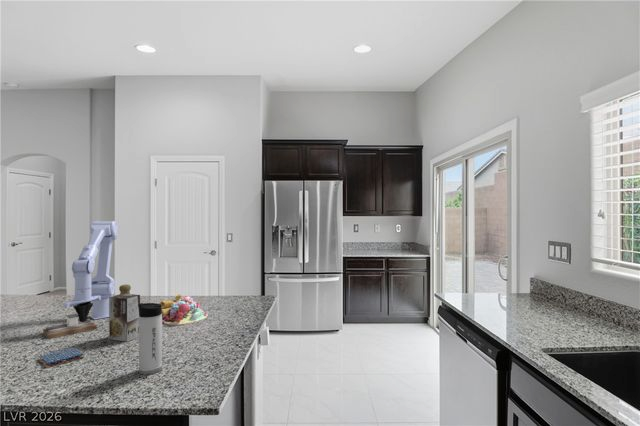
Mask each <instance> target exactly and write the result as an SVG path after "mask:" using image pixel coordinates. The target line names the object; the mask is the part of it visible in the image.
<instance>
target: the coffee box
mask: <svg viewBox="0 0 640 426" xmlns="http://www.w3.org/2000/svg"><path fill="white" fill-rule="evenodd" d="M140 303H141V295H140V294H135V293H134V294H133V293H130V294H120V293H119V294H115V295H112V297H109V317H108V318H109V321H108V322H109V323H108V324H109V327H108V329H109V330H108V331H109V333H108V334H109V335H108V336H109V338H108V339H109V340H114V341H119V342H130V341H132V340H133V341H134V340H135V339H139V307H138V305H139V304H140Z"/></svg>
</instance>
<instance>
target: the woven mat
mask: <svg viewBox="0 0 640 426" xmlns="http://www.w3.org/2000/svg"><path fill="white" fill-rule="evenodd" d="M80 358H82V359H84V358H85V355H84V353H83V352H82V351H81V350H79V349H77V348H76V347H69V348H64V349H61V350H57V351H55V352H54V351H52V352H49V353H48V352H47V353H46V354H43V355H42V354H40V356H39V357H38V361H39V362H40V363H42V364H43V366H44V367H45V368H52V367H55V366H59V365H60V366H61V365H63V364H66V363H71V362H73V361H78V360H81V359H80ZM72 359H73V360H72ZM77 359H78V360H77ZM70 361H71V362H70Z"/></svg>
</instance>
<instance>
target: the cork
mask: <svg viewBox="0 0 640 426" xmlns="http://www.w3.org/2000/svg"><path fill="white" fill-rule="evenodd" d="M131 288H132V287H131V285H130V284H122V285H119V288H118V290H119V294H131V293H130V292H131Z"/></svg>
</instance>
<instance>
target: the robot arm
mask: <svg viewBox="0 0 640 426" xmlns="http://www.w3.org/2000/svg"><path fill="white" fill-rule="evenodd" d="M118 229H119V227H118V224H117V222H116V221H115V220H111V221H110V220H109V221H105V220H104V221H103V220H101V221H96V220H94V221H93V220H92V221H91V223H90V227H89V230H90V234H91V235H90V237H89V238H90V239H89V241H88V244H86V245H85V246H83V248H82V251H81V252H80V255H79V256H78V258H77V259H75V260H74V261H73V262H72V264H71V271H72V276H73V278H74V299H72V300H69V301H65V302H63V309H68V308H72V307H73V309H74V310H75V312H76V314H77V315H78V316H79V317H78V321H80V322H85V321H86V320H88V317H90V318H91V319H93V320H100V319H104V318H105V319H106V318H109V297H112V296H114V294H115V292H116V280H115V279H114V278H113V277H111V276H110V267H111V260H112V259H111V258H112V249H113V241H115V240H116V239H117V236H118ZM98 247H99V249H98ZM97 255H98V262H97V267H96V276H94V277H92V273H93V272H94V270H95V263H96V258H97ZM91 310H92V312H91V314H90V315H89V313H90V311H91Z"/></svg>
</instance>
